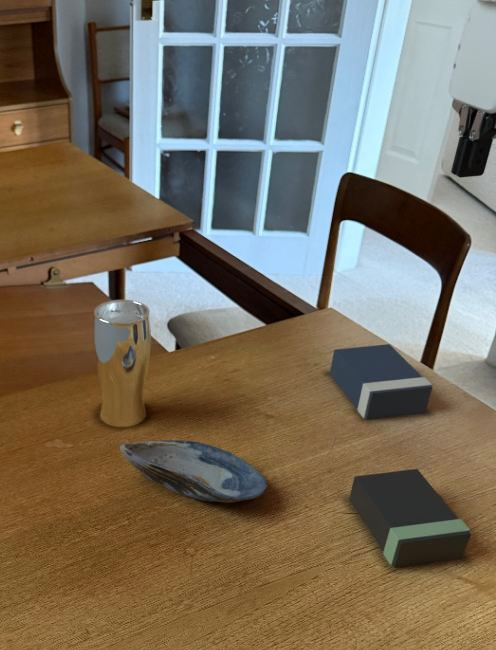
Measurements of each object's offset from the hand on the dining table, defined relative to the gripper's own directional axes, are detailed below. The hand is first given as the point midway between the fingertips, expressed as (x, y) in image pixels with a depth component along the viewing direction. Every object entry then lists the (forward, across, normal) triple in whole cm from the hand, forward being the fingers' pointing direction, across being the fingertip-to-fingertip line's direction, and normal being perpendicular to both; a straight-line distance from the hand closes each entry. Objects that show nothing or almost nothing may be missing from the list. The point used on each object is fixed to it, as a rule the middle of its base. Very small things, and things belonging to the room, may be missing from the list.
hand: (466, 174), depth 86 cm
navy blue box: (+24, +2, +8) cm, 26 cm away
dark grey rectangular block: (+25, -24, +17) cm, 39 cm away
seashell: (+27, -19, +37) cm, 49 cm away
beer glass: (+27, -2, +42) cm, 49 cm away
